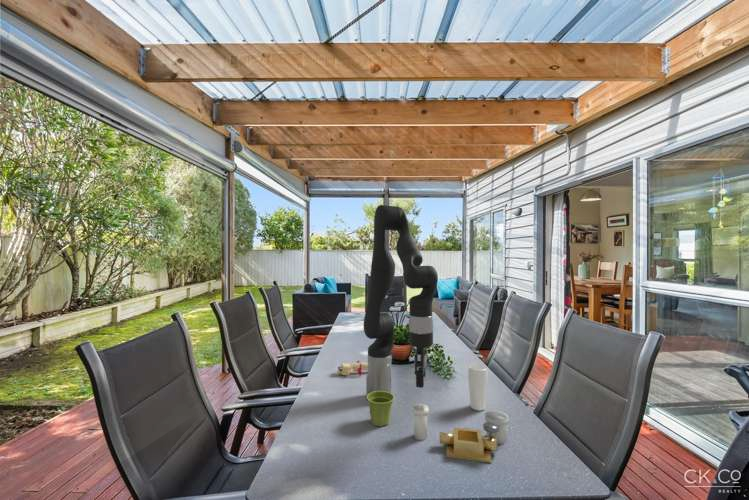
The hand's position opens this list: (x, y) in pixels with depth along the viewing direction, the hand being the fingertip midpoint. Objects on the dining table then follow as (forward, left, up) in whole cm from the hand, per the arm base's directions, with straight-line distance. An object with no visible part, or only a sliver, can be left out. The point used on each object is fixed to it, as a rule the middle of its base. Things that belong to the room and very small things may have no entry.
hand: (420, 381), depth 106 cm
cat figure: (-31, +49, -18) cm, 61 cm away
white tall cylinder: (+19, +24, -17) cm, 35 cm away
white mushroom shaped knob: (0, 0, -17) cm, 17 cm away
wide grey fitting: (+23, +4, -17) cm, 29 cm away
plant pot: (-14, +6, -17) cm, 23 cm away
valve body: (+14, -4, -17) cm, 22 cm away
